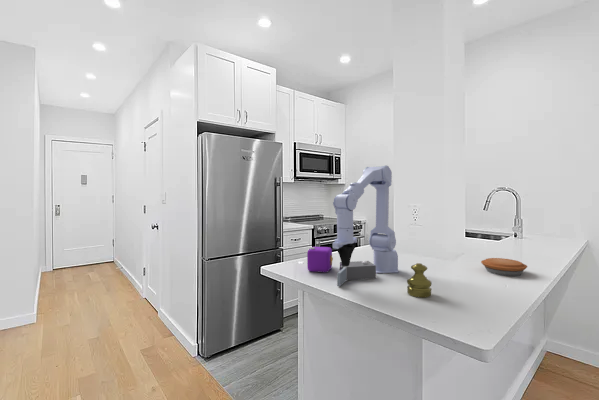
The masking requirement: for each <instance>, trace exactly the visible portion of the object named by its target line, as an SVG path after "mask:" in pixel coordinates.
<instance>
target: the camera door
mask: <svg viewBox="0 0 599 400" xmlns="http://www.w3.org/2000/svg"><path fill="white" fill-rule="evenodd" d="M336 275H337V277H336V280H337V281H336V283H337V284H336V285H337V287H341V286H342V285H343V284H344V283H345V282H346V281H348V280H347V267H343V269H341V270H340V271H338V272H337V273H336Z"/></svg>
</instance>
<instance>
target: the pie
mask: <svg viewBox="0 0 599 400" xmlns="http://www.w3.org/2000/svg"><path fill="white" fill-rule="evenodd" d="M480 263H481V264H482V265H483V266H484V268H485V270H486V271H487V272H489V273H491V274H493V275H498V276H503V277H504V276H508V277H519V276H521V275H522V273H523V272H524V271H525V270H526V269H527V268H528V265H527V264H524V263H523V262H521V261H519V260H515V259H511V258H510V259H509V258H503V257H491V258H486V259H483V260H481V262H480Z"/></svg>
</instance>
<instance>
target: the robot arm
mask: <svg viewBox="0 0 599 400" xmlns="http://www.w3.org/2000/svg"><path fill="white" fill-rule="evenodd" d="M392 178H393V175H392V170H391V168H390V166H389V165H388V164H387V165H381V166H366V167H365V168H364V169H363V170H362V175H361V176H360V178H359V179H358V180H357V182H350V184H349V186H347V187H346V189H344V190H343V192H342V193H340V194H339V193H338V194H337V195H336V196H335V197H334V199H333V202H332V205H333V207H334V211H335V212H334V213H335V215H336V236H337V237H336V238H334V242H332V249H335V250H336V251H337V252H338V256H339V258H340V262H341V263H342V266H349V264H350V262H351V259H352V255H353V253H354V250H355V248H356V245H354V244H356V243H358V238H357V237H355V236H354V210H355V209H356V208H357V204H358V200H359V199H360V198H361V197H362V196H363V195H364V193H365V188H366V187H368V186H369V185H370V186H371V187H374V188H375V190H376V192H375V194H376V195H375V196H376V197H375V226H374V227H373V228H372V229H371V230H370V233H369V239H368V243H369V247H371V250H373V264H374V265H376V274H390V273H399V272H400V271H399V255H398V252H397V250H396V249H395V248H396V245H397V240H396V233H395V231H394V230H393V229H392V228H391V227H390V226H389V215H390V214H389V207H390V206H389V203H390V202H389V200H390V195H389V194H390V187H391V186H392V183H393V180H392Z"/></svg>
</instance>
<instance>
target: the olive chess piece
mask: <svg viewBox="0 0 599 400" xmlns="http://www.w3.org/2000/svg"><path fill="white" fill-rule="evenodd" d="M410 269H411V270H413V272H414V274H412V275H411V276H410V277H409V278H407V280H406V283H407V287H406V289H407V290H406V291H407V294H408V295H409V296H411V297H414V298H422V299H425V298H431V296H432V285H433V284H432V281H431V280H430V279H429V278H427V276H426V275H425V272H426V271H428V267H427V266H426V265H423V264H422V263H418V262H417V263H416V264H412V265H411V266H410Z"/></svg>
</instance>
